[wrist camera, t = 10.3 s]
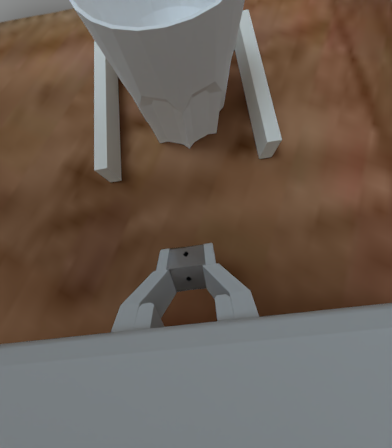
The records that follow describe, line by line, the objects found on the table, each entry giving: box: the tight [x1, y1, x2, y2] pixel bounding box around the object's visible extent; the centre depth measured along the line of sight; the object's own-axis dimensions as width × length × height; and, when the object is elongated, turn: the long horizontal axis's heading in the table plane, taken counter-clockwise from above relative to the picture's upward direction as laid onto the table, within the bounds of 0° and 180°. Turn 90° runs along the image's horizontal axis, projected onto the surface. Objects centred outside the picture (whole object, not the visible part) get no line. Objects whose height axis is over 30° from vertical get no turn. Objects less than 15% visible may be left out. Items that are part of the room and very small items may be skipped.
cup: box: [69, 0, 245, 149], centre depth 14 cm, size 10×10×10 cm
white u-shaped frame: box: [94, 10, 282, 182], centre depth 17 cm, size 15×16×2 cm
